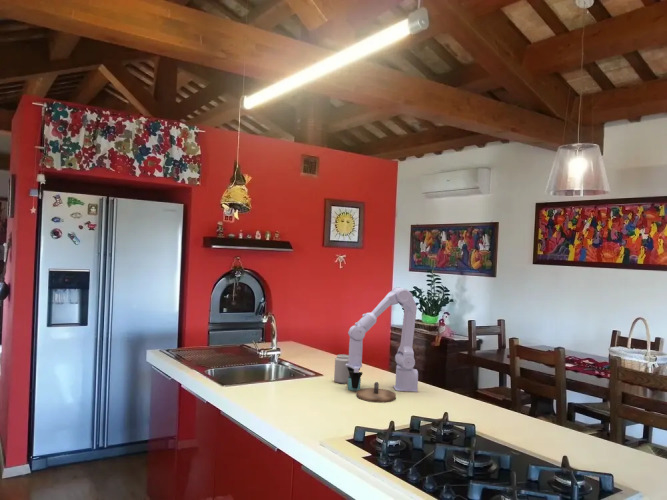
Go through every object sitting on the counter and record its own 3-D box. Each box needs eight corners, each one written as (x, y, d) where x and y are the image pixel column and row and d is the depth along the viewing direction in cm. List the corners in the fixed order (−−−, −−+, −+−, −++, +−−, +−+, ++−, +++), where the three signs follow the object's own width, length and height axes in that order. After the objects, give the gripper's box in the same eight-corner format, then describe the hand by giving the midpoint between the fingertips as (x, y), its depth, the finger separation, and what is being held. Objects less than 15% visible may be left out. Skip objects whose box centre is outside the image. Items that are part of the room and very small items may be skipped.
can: (344, 385, 235) (345, 357, 235) (330, 381, 239) (332, 355, 239) (354, 382, 241) (355, 355, 241) (340, 379, 245) (341, 353, 245)
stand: (392, 392, 226) (392, 378, 226) (398, 403, 210) (399, 387, 210) (354, 391, 225) (355, 376, 225) (358, 401, 209) (359, 386, 209)
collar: (359, 387, 231) (359, 376, 231) (360, 391, 226) (361, 379, 226) (347, 387, 231) (347, 375, 231) (348, 390, 226) (348, 378, 226)
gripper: (344, 350, 235) (343, 381, 235) (347, 357, 221) (345, 389, 221) (360, 351, 236) (359, 382, 236) (364, 357, 221) (362, 390, 221)
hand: (353, 385), depth 228 cm, fingers open, 7 cm apart
